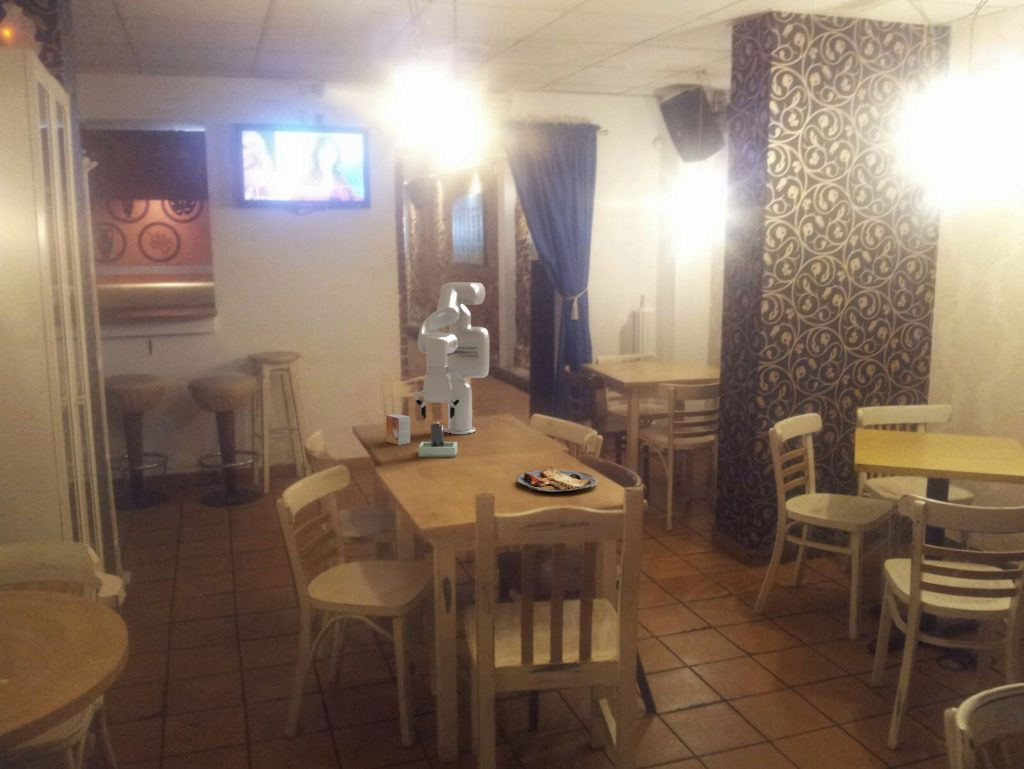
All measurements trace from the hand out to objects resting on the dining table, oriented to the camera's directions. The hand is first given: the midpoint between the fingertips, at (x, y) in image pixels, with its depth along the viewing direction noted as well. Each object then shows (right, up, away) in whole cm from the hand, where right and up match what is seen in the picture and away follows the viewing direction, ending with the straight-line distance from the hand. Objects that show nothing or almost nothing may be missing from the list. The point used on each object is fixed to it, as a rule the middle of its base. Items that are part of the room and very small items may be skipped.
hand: (438, 417), depth 316 cm
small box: (-17, -11, +20) cm, 28 cm away
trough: (0, -13, +1) cm, 13 cm away
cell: (0, -12, +1) cm, 12 cm away
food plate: (+40, -20, -40) cm, 60 cm away
